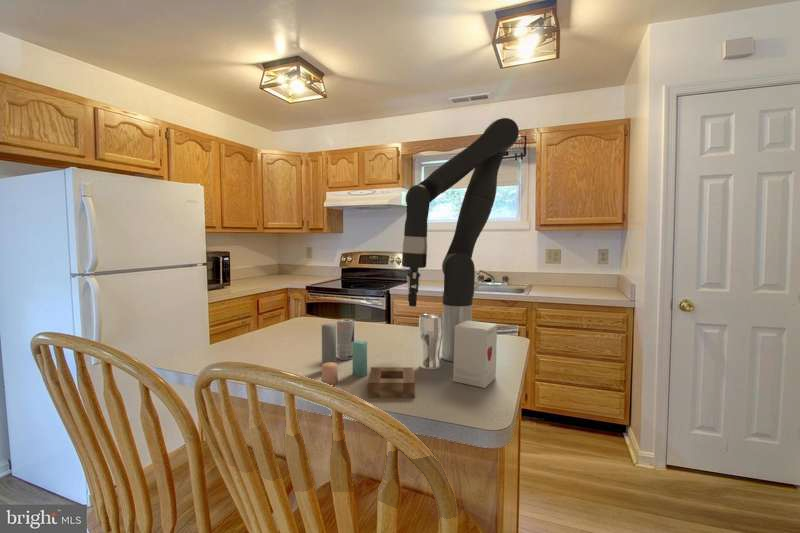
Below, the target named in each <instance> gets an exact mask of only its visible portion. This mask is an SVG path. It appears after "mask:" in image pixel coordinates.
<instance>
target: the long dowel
mask: <svg viewBox="0 0 800 533" xmlns="http://www.w3.org/2000/svg"><path fill="white" fill-rule="evenodd" d="M328 362H334V363H337V324H335V323H324V324H322V325H321V365H322V364H324V363H328Z"/></svg>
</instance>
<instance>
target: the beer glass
mask: <svg viewBox="0 0 800 533" xmlns="http://www.w3.org/2000/svg"><path fill="white" fill-rule="evenodd" d="M442 331H443V328H442V315H441V314H436V313H423V314H420V315H419V320H418V340H419V345H420V346H419V347H420V352H421V357H420V363H419V367H420V368H421V369H424V370H429V371H431V370H438V369H441V360H440V350H441V347H442Z"/></svg>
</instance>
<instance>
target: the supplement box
mask: <svg viewBox="0 0 800 533" xmlns="http://www.w3.org/2000/svg"><path fill="white" fill-rule="evenodd" d="M497 333H498V323H493V322H483V321H476V320H475V321H474V320H472V321H468V320H467V321H465V322H463V323H460V324H458V325H456V326H455V328H454V362H453V369H452V370H453V374H452V376H453V378H452V381H453V382H456V383H459V384H460V383H461V384H464V385H468V386H469V385H470V386H474V387H477V388H483V389H486V388H487V387H488V386H489V385H490V384H491V383H493V381H494V380H495V379H496V378H497V376H496V375H497V339H498V338H497V337H498V334H497Z"/></svg>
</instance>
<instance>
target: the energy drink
mask: <svg viewBox="0 0 800 533" xmlns="http://www.w3.org/2000/svg"><path fill="white" fill-rule="evenodd" d="M354 341H355V322H354V319H353V318H340V319H337V322H336V359H338V360H339V361H350V360H353V348H352V342H354Z"/></svg>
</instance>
